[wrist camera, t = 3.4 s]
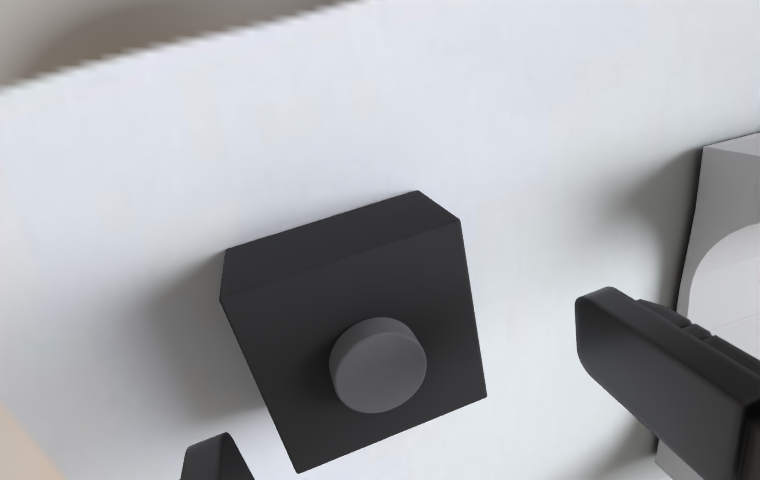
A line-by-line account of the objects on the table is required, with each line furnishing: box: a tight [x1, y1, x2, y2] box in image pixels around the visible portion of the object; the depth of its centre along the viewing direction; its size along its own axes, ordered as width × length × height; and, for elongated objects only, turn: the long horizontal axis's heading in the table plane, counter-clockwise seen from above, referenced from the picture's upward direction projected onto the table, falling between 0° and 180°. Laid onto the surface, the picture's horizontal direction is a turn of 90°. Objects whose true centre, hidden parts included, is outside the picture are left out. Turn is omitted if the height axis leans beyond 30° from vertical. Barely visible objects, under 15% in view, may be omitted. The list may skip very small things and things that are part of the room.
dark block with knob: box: [219, 190, 487, 474], centre depth 12 cm, size 6×6×4 cm
